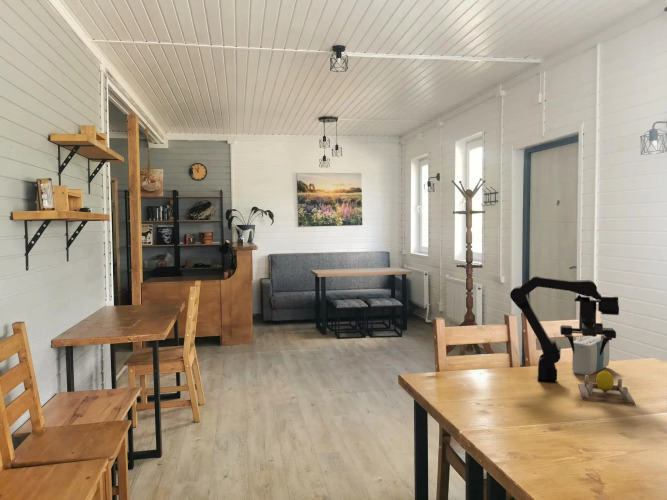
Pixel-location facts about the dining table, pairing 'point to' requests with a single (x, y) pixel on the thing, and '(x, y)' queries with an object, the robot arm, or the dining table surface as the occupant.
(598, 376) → the lemon
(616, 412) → the dining table surface
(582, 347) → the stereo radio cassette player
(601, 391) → the cradle tray
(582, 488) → the dining table surface
